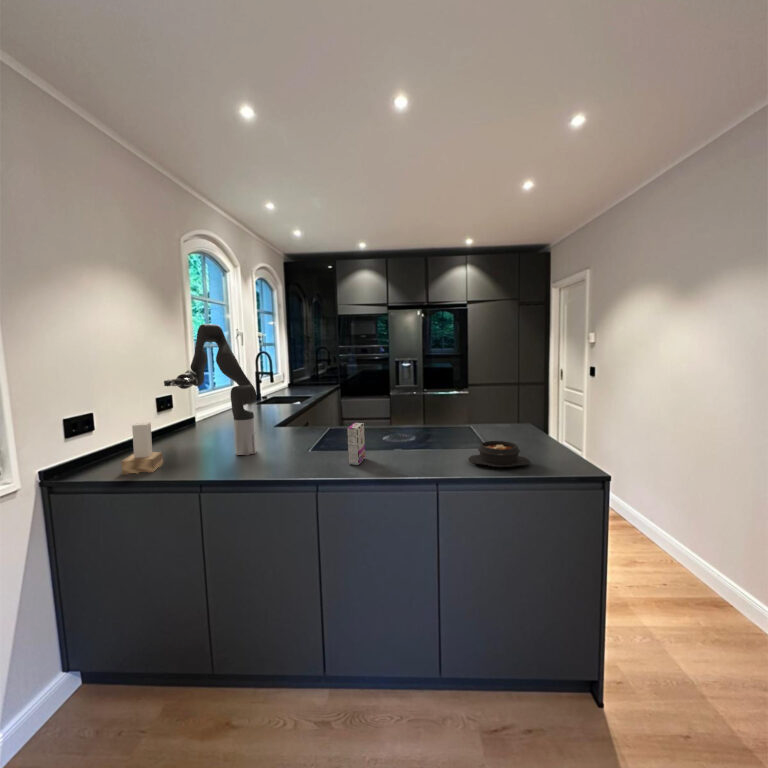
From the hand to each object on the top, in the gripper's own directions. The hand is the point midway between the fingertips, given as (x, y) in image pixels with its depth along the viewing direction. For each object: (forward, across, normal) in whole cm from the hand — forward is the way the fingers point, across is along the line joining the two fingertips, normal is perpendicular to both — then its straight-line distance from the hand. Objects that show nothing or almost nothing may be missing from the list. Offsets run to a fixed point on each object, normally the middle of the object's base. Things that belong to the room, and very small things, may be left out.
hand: (177, 383), depth 191 cm
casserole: (+57, +137, +35) cm, 153 cm away
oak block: (+19, -11, +35) cm, 42 cm away
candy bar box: (+36, +80, +35) cm, 95 cm away
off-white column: (+19, -11, +29) cm, 36 cm away
